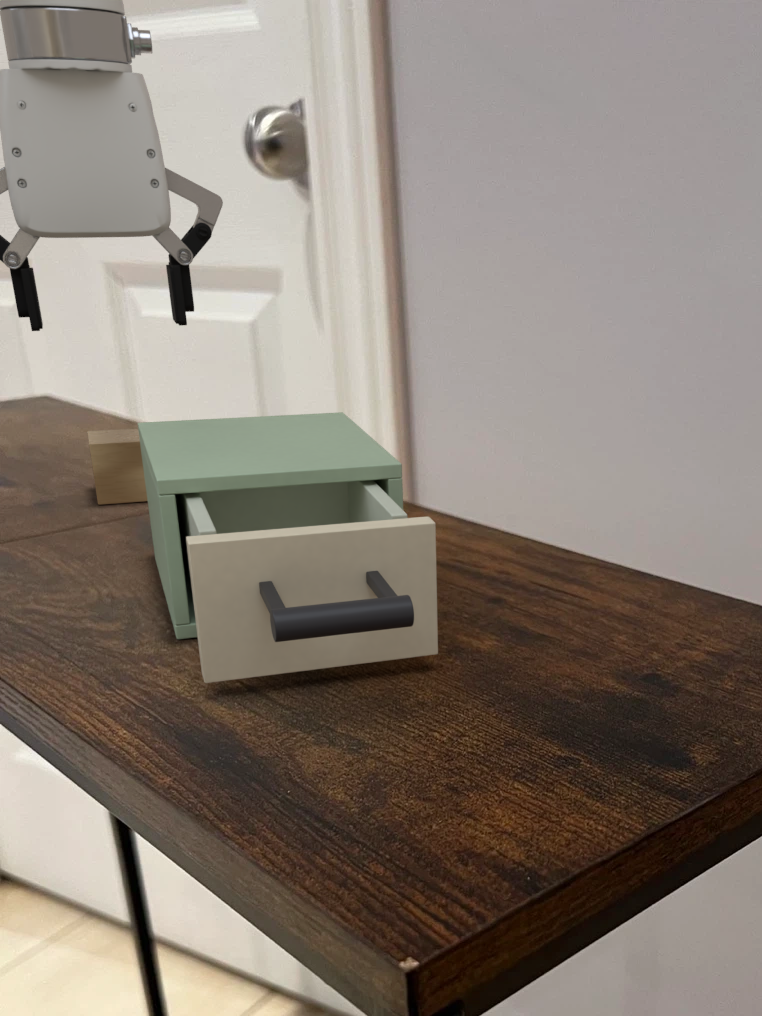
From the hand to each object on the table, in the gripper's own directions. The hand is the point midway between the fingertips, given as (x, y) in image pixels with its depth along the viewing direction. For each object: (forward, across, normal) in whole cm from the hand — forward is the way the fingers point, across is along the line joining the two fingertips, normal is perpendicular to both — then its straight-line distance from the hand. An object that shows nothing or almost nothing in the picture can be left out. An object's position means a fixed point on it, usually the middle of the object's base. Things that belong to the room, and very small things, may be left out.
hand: (110, 325), depth 81 cm
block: (+12, 0, 0) cm, 12 cm away
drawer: (+11, -7, +35) cm, 38 cm away
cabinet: (+12, -6, +24) cm, 28 cm away
